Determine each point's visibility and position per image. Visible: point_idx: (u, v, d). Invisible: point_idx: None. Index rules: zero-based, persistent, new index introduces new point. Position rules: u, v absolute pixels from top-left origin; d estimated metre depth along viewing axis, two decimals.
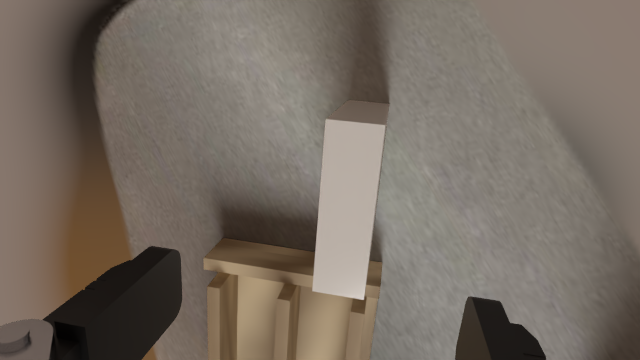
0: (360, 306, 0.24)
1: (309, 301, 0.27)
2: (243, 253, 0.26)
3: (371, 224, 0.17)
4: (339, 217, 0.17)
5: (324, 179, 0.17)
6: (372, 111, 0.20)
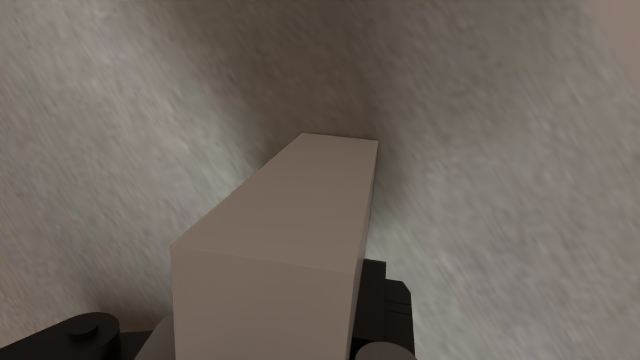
0: None
1: None
2: None
3: None
4: None
5: None
6: (336, 177, 0.09)
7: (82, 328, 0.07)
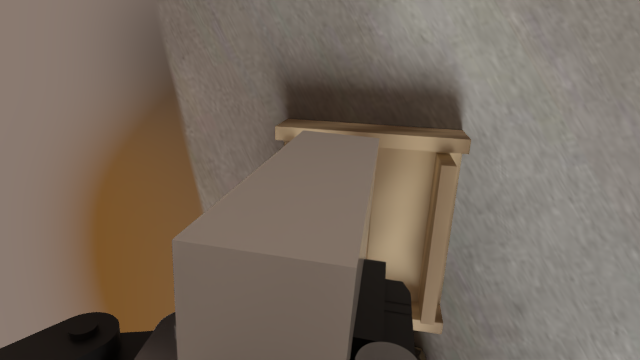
0: (449, 162, 0.22)
1: (384, 178, 0.25)
2: (314, 125, 0.24)
3: None
4: None
5: None
6: (337, 173, 0.09)
7: (82, 327, 0.07)
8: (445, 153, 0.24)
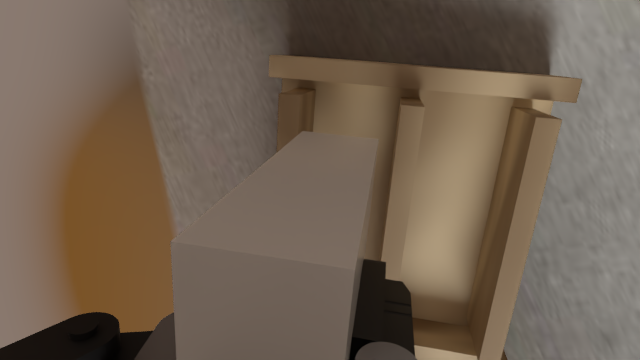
0: (544, 115, 0.14)
1: (429, 144, 0.17)
2: None
3: None
4: None
5: None
6: (336, 174, 0.09)
7: (82, 328, 0.07)
8: (526, 107, 0.16)
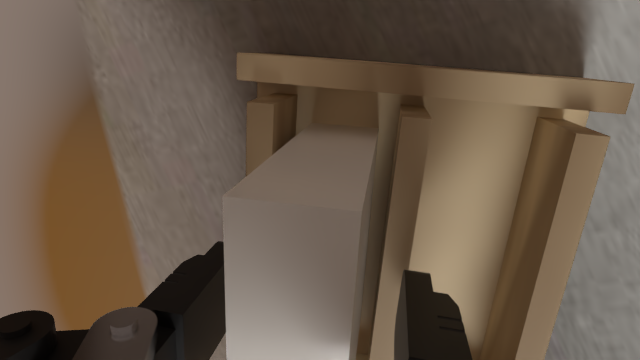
0: (585, 130, 0.11)
1: (435, 162, 0.14)
2: None
3: None
4: None
5: (234, 323, 0.08)
6: (343, 154, 0.10)
7: (14, 325, 0.07)
8: (556, 118, 0.13)
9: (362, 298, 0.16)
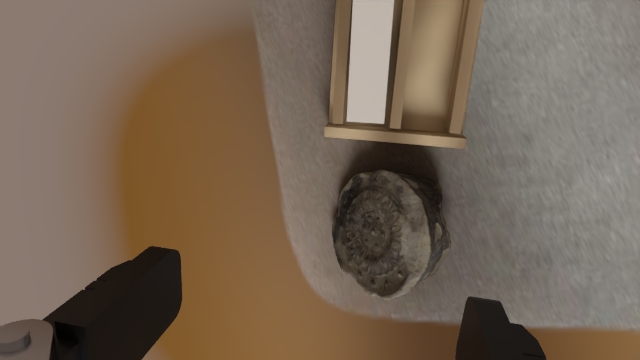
0: None
1: (420, 17, 0.31)
2: None
3: (387, 62, 0.24)
4: (364, 60, 0.25)
5: (354, 31, 0.24)
6: None
7: None
8: None
9: None
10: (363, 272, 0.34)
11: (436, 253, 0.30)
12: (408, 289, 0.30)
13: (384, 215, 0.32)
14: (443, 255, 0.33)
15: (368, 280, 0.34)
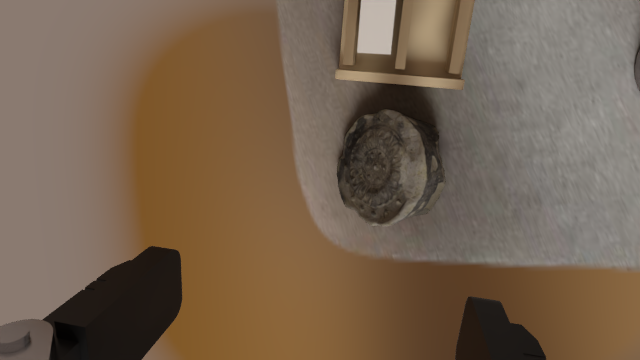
0: None
1: None
2: None
3: None
4: None
5: None
6: None
7: None
8: None
9: None
10: (365, 205, 0.37)
11: (431, 183, 0.34)
12: (405, 214, 0.33)
13: (385, 150, 0.35)
14: (438, 190, 0.36)
15: (369, 212, 0.37)
